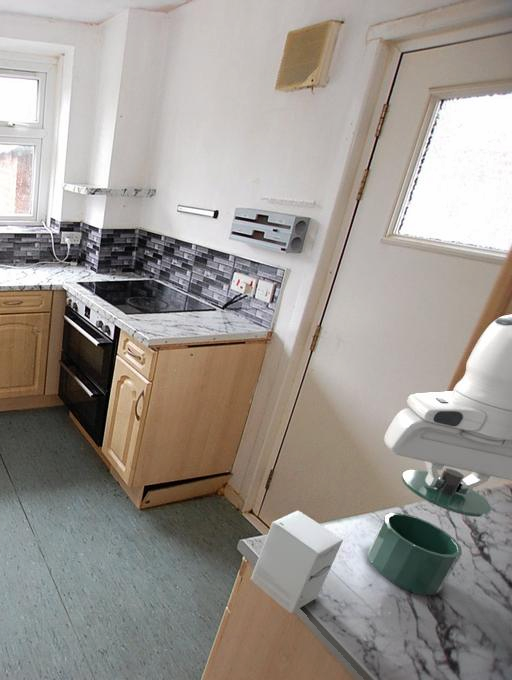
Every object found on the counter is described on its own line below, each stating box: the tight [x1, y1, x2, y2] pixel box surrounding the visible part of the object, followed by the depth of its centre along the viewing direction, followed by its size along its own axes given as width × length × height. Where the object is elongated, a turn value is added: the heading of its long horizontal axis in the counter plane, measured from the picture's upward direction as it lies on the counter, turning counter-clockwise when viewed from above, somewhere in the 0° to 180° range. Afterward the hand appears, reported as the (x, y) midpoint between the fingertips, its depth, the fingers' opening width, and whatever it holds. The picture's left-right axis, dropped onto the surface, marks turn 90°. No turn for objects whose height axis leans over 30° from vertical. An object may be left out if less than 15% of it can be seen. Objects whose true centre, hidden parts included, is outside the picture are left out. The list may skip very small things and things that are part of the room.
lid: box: [401, 467, 492, 518], centre depth 75 cm, size 11×11×5 cm
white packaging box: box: [250, 510, 344, 615], centre depth 74 cm, size 7×7×13 cm
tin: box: [367, 512, 463, 596], centre depth 81 cm, size 10×10×8 cm
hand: (445, 488), depth 76 cm, fingers closed on lid, 2 cm apart
